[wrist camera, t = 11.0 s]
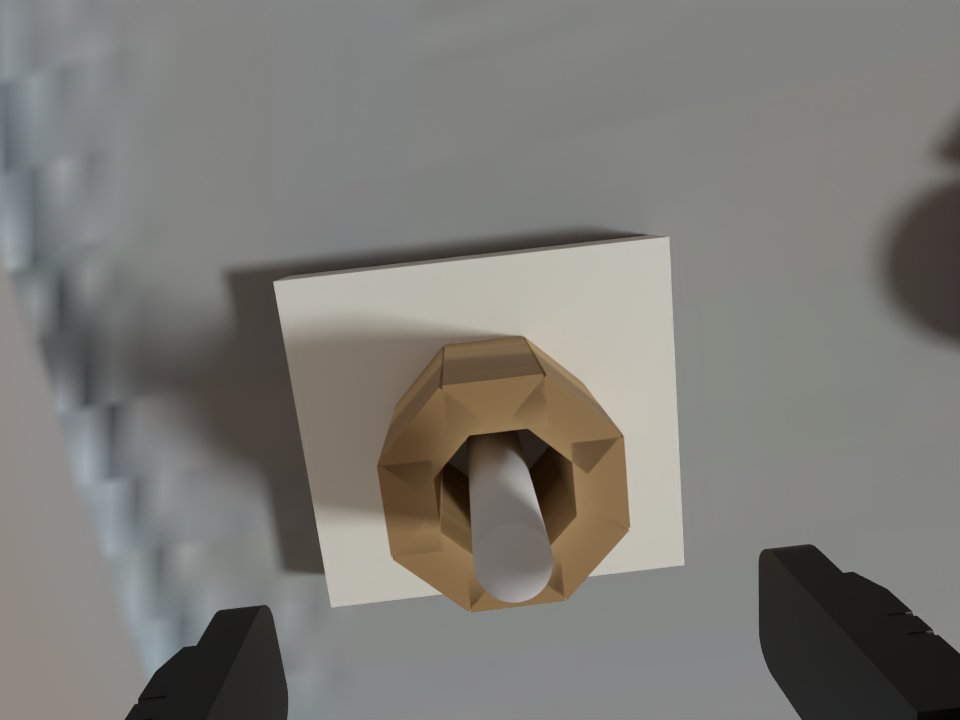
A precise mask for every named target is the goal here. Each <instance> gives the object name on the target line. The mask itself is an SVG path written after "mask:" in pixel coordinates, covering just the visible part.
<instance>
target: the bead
mask: <svg viewBox="0 0 960 720" xmlns="http://www.w3.org/2000/svg"><path fill="white" fill-rule="evenodd" d="M520 429H529V430H530V431H532V432H533V433H534V434H536V435H537V436H538V437H540V438H541V439H542V440H544V441H545V442H546V443H547V444H549V447H548V448H547V449H546V450H545V452H544V453H543V454H542V455H541V456H540V457H539V459H538V460H537V461H536V462H535V463H534V464H533V466H532V467H531V468H530V469H529V474H530V477H531V481H532V484H533V488H534V491H535V494H536V498H537V501H538V505H539V508H540V512H541V515H542V518H543V522H544V525H545V529H546V532H547V536H548V539H549V543H550V546H551V549H552V554H553V569H552V573H551V576H550V579H549V581H548V583H547V585H546V586H545V587H544V589H543V590H542V591H541V592H540V593H539V594H537V595H536V596H535V597H533V598H531V599H529V600H526V601H523V602H517V603H510V602H504V601H501V600H498V599H496V598H494V597H493V596H491V595H490V594H489V593H487V592H486V591H485V590H484V588H483V587H482V586H481V585H480V583H479V581H478V579H477V577H476V574H475V571H474V566H473V550H472V531H471V512H470V494H469V477H468V476H466V475H465V474H463V473H462V472H461V471H459V470H458V469H457V468H455V467H454V466H452V465H451V464H450V463H448V461H449V460H450V458H451V457H452V456H453V455H454V454H455V452H456V451H457V450H458V449H459V447H460V446H461V445H462V444H463V443H464V441H465V440H466V439H467V438H468V437H469V436H470V435H478V434H486V433H495V432H503V431H511V430H520ZM377 470H378V477H379V483H380V490H381V496H382V502H383V509H384V515H385V522H386V528H387V534H388V541H389V547H390V554H391V557H393V560H394V561H396V562H397V563H399V564H400V565H401V566H403V567H404V568H406V569H407V570H409V571H410V572H412V573H413V574H415V575H416V576H417V577H419V578H420V579H422V580H423V581H425V582H426V583H428V584H429V585H430V586H432V587H433V588H435V589H436V590H438V591H439V592H441V593H442V594H444V595H445V596H446V597H448V598H449V599H451V600H452V601H454V602H455V603H457V604H458V605H460V606H461V607H462V608H464V609H465V610H467V611H469V610H470V609H471V612H478V611H486V610H494V609H502V608H510V607H518V606H526V605H534V604H542V603H551V602H559V601H565V598H566V599H568V598H569V597H570V596H571V595H572V594H573V593H574V592H575V590H576V589H577V588H578V587H579V586H580V585H581V584H582V583H583V582H584V580H585V579H586V578H587V577H588V576H589V575H590V574H591V573H592V572H593V570H594V569H595V568H596V567H597V566H598V565H599V564H600V563H601V561H602V560H603V559H604V558H605V557H606V556H607V555H608V554H609V553H610V551H611V550H612V549H613V548H614V547H615V546H616V545H617V544H618V543H619V541H620V540H621V539H622V538H623V537H624V536H625V535H626V534H627V532H628V531H629V529H628V528H630V516H629V502H628V487H627V473H626V458H625V443H624V436H623V435H622V433H621V431H620V430H619V429H618V427H617V426H616V425H615V424H614V422H613V421H612V420H611V418H610V417H609V416H608V415H607V413H606V412H605V411H604V409H603V408H602V407H601V405H600V404H599V403H598V402H597V400H596V399H595V398H594V396H593V395H592V394H591V392H590V391H589V390H588V389H587V387H586V386H585V385H584V383H583V382H581V381H580V380H579V379H578V378H576V377H575V376H574V375H573V374H571V373H570V372H569V371H567V370H566V369H565V368H564V367H562V366H561V365H560V364H559V363H557V362H556V361H555V360H554V359H552V358H551V357H550V356H548V355H547V354H546V353H545V352H543V351H542V350H541V349H540V348H538V347H537V346H536V345H535V344H533V343H532V342H531V341H529V340H528V339H527V338H526V337H524V338H523V337H522V336H517V337H508V338H500V339H491V340H483V341H474V342H466V343H458V344H449V345H445V348H444V347H442V348H441V349H440V350H439V352H438V353H437V354H436V355H435V357H434V358H433V359H432V360H431V362H430V363H429V364H428V365H427V367H426V368H425V369H424V370H423V372H422V373H421V374H420V375H419V377H418V378H417V379H416V380H415V382H414V383H413V384H412V385H411V387H410V388H409V389H408V391H407V392H406V393H405V394H404V396H403V397H402V398H401V399H400V401H399V402H398V403H397V404H396V406H395V410H394V413H393V416H392V419H391V422H390V426H389V429H388V432H387V435H386V438H385V442H384V445H383V448H382V451H381V455H380V458H379V461H378V465H377Z"/></svg>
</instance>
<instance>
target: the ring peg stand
mask: <svg viewBox="0 0 960 720" xmlns="http://www.w3.org/2000/svg"><path fill="white" fill-rule="evenodd" d="M273 283H274V289H275V294H276V300H277V306H278V311H279V317H280V323H281V328H282V334H283V339H284V345H285V351H286V356H287V362H288V367H289V373H290V379H291V384H292V390H293V395H294V401H295V407H296V412H297V418H298V424H299V429H300V435H301V440H302V446H303V452H304V457H305V463H306V468H307V474H308V480H309V485H310V491H311V496H312V502H313V508H314V513H315V519H316V525H317V530H318V536H319V541H320V547H321V553H322V558H323V564H324V569H325V575H326V581H327V586H328V592H329V597H330V603H331V607H339V606H348V605H356V604H364V603H373V602H381V601H389V600H398V599H406V598H414V597H423V596H431V595H439V594H442V593H441V592H439V591H438V590H436V589H435V588H433V587H432V586H430V585H429V584H428V583H426V582H425V581H423V580H422V579H420V578H419V577H417V576H416V575H415V574H413V573H412V572H410V571H409V570H407V569H406V568H404V567H403V566H401V565H400V564H399V563H397V562H396V561H394V560H393V557H391V554H390V547H389V541H388V534H387V528H386V522H385V515H384V509H383V502H382V496H381V490H380V483H379V477H378V470H377V465H378V461H379V458H380V455H381V451H382V448H383V445H384V442H385V438H386V435H387V432H388V429H389V426H390V422H391V419H392V416H393V413H394V410H395V406H396V404H397V403H398V402H399V401H400V399H401V398H402V397H403V396H404V394H405V393H406V392H407V391H408V389H409V388H410V387H411V385H412V384H413V383H414V382H415V380H416V379H417V378H418V377H419V375H420V374H421V373H422V372H423V370H424V369H425V368H426V367H427V365H428V364H429V363H430V362H431V360H432V359H433V358H434V357H435V355H436V354H437V353H438V352H439V350H440V349H441V348H442V347H444V348H445V345H449V344H458V343H466V342H474V341H483V340H491V339H500V338H508V337H517V336H522V337H523V338H524V337H526V338H527V339H528V340H529V341H531V342H532V343H533V344H535V345H536V346H537V347H538V348H540V349H541V350H542V351H543V352H545V353H546V354H547V355H548V356H550V357H551V358H552V359H554V360H555V361H556V362H557V363H559V364H560V365H561V366H562V367H564V368H565V369H566V370H567V371H569V372H570V373H571V374H573V375H574V376H575V377H576V378H578V379H579V380H580V381H581V382H583V383H584V385H585V386H586V387H587V389H588V390H589V391H590V392H591V394H592V395H593V396H594V398H595V399H596V400H597V402H598V403H599V404H600V405H601V407H602V408H603V409H604V411H605V412H606V413H607V415H608V416H609V417H610V418H611V420H612V421H613V422H614V424H615V425H616V426H617V427H618V429H619V430H620V431H621V433H622V435H623V436H624V443H625V458H626V473H627V487H628V502H629V516H630V528H628V529H629V531H628V532H627V534H626V535H625V536H624V537H623V538H622V539H621V540H620V541H619V543H618V544H617V545H616V546H615V547H614V548H613V549H612V550H611V551H610V553H609V554H608V555H607V556H606V557H605V558H604V559H603V560H602V561H601V563H600V564H599V565H598V566H597V567H596V568H595V569H594V570H593V572H592V573H591V574H590V575H589V576H597V575H606V574H614V573H622V572H631V571H639V570H647V569H655V568H664V567H672V566H680V565H684V548H683V526H682V504H681V483H680V461H679V439H678V418H677V396H676V374H675V353H674V331H673V309H672V288H671V266H670V244H669V237H667V236H656V235H644V236H636V237H627V238H618V239H609V240H600V241H592V242H583V243H574V244H565V245H556V246H547V247H539V248H530V249H521V250H512V251H503V252H495V253H486V254H477V255H468V256H459V257H450V258H442V259H433V260H424V261H415V262H406V263H397V264H389V265H380V266H371V267H362V268H353V269H345V270H336V271H327V272H318V273H309V274H300V275H292V276H287V277H285V278H282V279H279V280H276V281H274V282H273ZM548 447H549V444H547V443H546V442H545V441H544V440H542V439H541V438H540V437H538V436H537V435H536V434H534V433H533V432H532V431H530V430H529V429H520V430H511V431H503V432H495V433H486V434H478V435H470V436H469V437H468V438H467V439H466V440H465V441H464V443H463V444H462V445H461V446H460V447H459V449H458V450H457V451H456V452H455V454H454V455H453V456H452V457H451V458H450V460H449V461H448V463H450V464H451V465H452V466H454V467H455V468H457V469H458V470H459V471H461V472H462V473H463V474H465V475H466V476H468V477H469V494H470V512H471V531H472V550H473V566H474V571H475V574H476V577H477V579H478V581H479V583H480V585H481V586H482V587H483V588H484V590H485V591H486V592H487V593H489V594H490V595H491V596H493V597H494V598H496V599H498V600H501V601H504V602H510V603H517V602H523V601H526V600H529V599H531V598H533V597H535V596H536V595H537V594H539V593H540V592H541V591H542V590H543V589H544V587H545V586H546V585H547V583H548V581H549V579H550V576H551V573H552V569H553V554H552V549H551V546H550V543H549V539H548V536H547V532H546V529H545V525H544V522H543V518H542V515H541V512H540V508H539V505H538V501H537V498H536V494H535V491H534V488H533V484H532V481H531V477H530V474H529V469H530V468H531V467H532V466H533V464H534V463H535V462H536V461H537V460H538V459H539V457H540V456H541V455H542V454H543V453H544V452H545V450H546V449H547V448H548ZM589 576H588V577H589Z"/></svg>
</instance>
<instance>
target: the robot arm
mask: <svg viewBox="0 0 960 720" xmlns="http://www.w3.org/2000/svg"><path fill="white" fill-rule="evenodd" d="M759 637H760V643H761V648H762V652H763V655H764V659H765V661H766V664H767V666H768V669H769V671H770V673H771V674H772V676H773V678H774V679H775V681H776V682H777V684H778V685H779V687H780V688H781V689H782V691H783V692H784V694H785V695H786V697H787V698H788V700H789V701H790V703H791V704H792V706H793V707H794V709H795V710H796V712H797V713H798V715H799V716H800V718H801V719H802V720H960V654H959V653H958V652H957V651H956V650H955V649H954V648H953V647H952V646H950V645H949V644H948V643H947V642H946V641H945V640H944V639H943V638H941V637H940V636H939V635H934V633H933V630H932V629H931V628H930V627H929V626H928V625H927V624H926V623H925V622H923V621H922V620H921V619H920V618H919V617H918V616H913V614H912V611H911V610H910V609H909V608H908V607H907V606H906V605H904V604H903V603H902V602H901V601H900V600H899V599H898V598H897V597H895V596H894V595H893V594H892V593H891V592H890V591H889V590H888V589H886V588H884V587H882V586H880V585H878V584H876V583H874V582H872V581H870V580H868V579H866V578H864V577H862V576H860V575H858V574H856V573H854V572H848V573H843V572H842V571H841V570H840V569H838V568H837V567H836V566H835V565H834V564H833V563H832V562H831V561H830V560H829V559H828V558H827V557H826V556H825V555H824V554H823V553H822V552H821V551H820V550H818V549H817V548H816V547H815V546H813V545H810V544H807V545H798V546H789V547H781V548H772V549H765V550H763V551H762V552H761V554H760V557H759ZM287 714H288V690H287V683H286V679H285V674H284V669H283V664H282V659H281V654H280V649H279V644H278V639H277V634H276V629H275V624H274V620H273V615H272V613H271V610H270V608H269V607H268V606H266V605H261V606H252V607H244V608H235V609H226V610H220V611H218V612H217V613H216V614H215V615H214V617H213V618H212V620H211V622H210V624H209V625H208V627H207V629H206V630H205V632H204V634H203V635H202V637H201V639H200V641H199V642H198V644H197V646H190V647H183V648H182V649H181V650H180V651H179V652H178V653H176V654H175V655H174V656H173V657H172V658H171V659H170V660H168V661H167V662H166V663H165V664H164V665H163V666H162V667H160V668H159V669H158V670H157V671H156V672H155V673H154V675H153V677H152V678H151V680H150V681H149V683H148V684H147V686H146V687H145V689H144V691H143V692H142V694H141V695H140V697H139V698H138V704H135V705H134V706H133V708H132V709H131V711H130V713H129V714H128V716H127V717H126V719H125V720H287Z"/></svg>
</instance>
